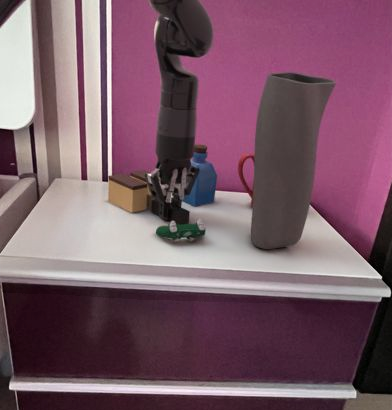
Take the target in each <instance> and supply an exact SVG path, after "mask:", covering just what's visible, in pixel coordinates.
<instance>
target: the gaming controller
mask: <svg viewBox="0 0 392 410" xmlns="http://www.w3.org/2000/svg"><path fill="white" fill-rule="evenodd" d="M206 231H207V228H206V226H205V223H204V221H203V220H202V219H197V221H196V223H188V224H182V225H179V224H176V223H175V221H170V223H169V224H168V225H160V226H157V228H155V234H156V235H157V236H158V237H160V238H161V239H172V240H173V241H174V242H175V243H179V242H181V239H185V238H186V240H188V241H189V242H193V241H195V239H196V238H199V237H202V236H203V237H204V236H205V235H206Z"/></svg>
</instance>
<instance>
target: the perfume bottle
mask: <svg viewBox="0 0 392 410" xmlns="http://www.w3.org/2000/svg"><path fill="white" fill-rule="evenodd" d="M207 150H208V146H207V145H205V144H197V143H195V145H194V155H193V157H192V159H190V161H191V165H193V166H195V167H198V168H199V169H200V171H199V174H198V176H197V178H196V181H195V183H194V186H193V188H192V190H191V193H190V195H188V196H187V195H186V196H184V199H183V200H182V203H183V202H184V203H186V204H188V205H190V206H191V207H198V206H203V205H209V204H212V203H213V204H214V203H215V198H216V190H217V189H216V188H217V183H218V182H217V181H218V174H217V172H216V170H215V167H214V165H213V163H212V162H209V161H207V160H206V159H207V158H208V151H207ZM187 186H188V183H187V184H186V188H187Z"/></svg>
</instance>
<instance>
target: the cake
mask: <svg viewBox="0 0 392 410" xmlns="http://www.w3.org/2000/svg"><path fill="white" fill-rule="evenodd" d="M146 172H149V173H151V172H150V171H148V170H145V169H142V170H136V171H131V172H129V174H130V175H128V174H125V173H117V174H112V175H108V180H107V181H108V183H107V184H108V185H107V186H108V187H107V189H108V190H107V200H108V201H107V202H108V203H110V204H112V205H114V206H117V207H118V208H120V209H123V210H125V211H127V212H129V213H131V214H133V213H137V212H142V211H146V210H147V207H146V204H147V193H148V194H151V193H150V190H149V187H148V184H147V181H146V179H145V173H146ZM165 185H167V184H165ZM167 186H169V185H167ZM165 194H166V191H165V193H164V195H165Z"/></svg>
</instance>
